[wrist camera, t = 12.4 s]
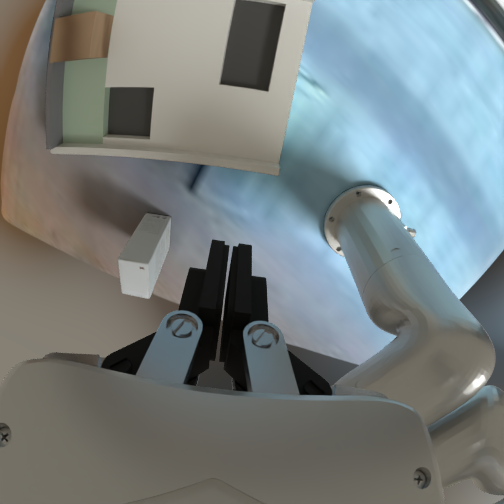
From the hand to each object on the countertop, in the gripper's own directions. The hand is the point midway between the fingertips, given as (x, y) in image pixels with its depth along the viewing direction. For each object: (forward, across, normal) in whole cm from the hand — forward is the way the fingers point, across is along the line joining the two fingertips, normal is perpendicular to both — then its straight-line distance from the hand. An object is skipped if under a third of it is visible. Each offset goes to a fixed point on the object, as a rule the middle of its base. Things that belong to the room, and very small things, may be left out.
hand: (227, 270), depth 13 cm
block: (+27, +22, -12) cm, 37 cm away
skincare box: (+29, +11, +17) cm, 36 cm away
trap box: (+29, +11, -8) cm, 32 cm away
